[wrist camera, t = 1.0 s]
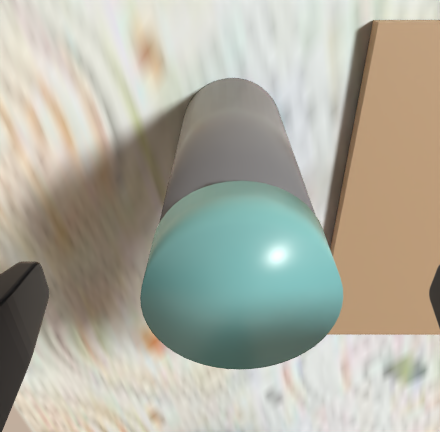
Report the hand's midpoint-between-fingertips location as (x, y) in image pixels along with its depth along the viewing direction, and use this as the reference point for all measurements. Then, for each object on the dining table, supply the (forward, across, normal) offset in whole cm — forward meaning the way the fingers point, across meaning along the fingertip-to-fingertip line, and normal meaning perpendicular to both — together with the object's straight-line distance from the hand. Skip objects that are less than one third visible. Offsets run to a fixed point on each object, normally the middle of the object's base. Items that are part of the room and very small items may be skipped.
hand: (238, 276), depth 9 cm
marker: (+9, 0, 0) cm, 9 cm away
